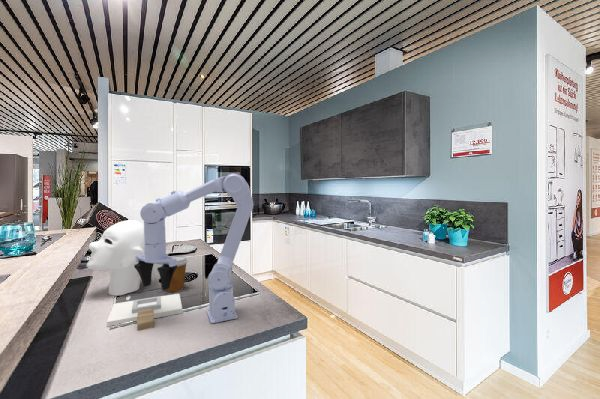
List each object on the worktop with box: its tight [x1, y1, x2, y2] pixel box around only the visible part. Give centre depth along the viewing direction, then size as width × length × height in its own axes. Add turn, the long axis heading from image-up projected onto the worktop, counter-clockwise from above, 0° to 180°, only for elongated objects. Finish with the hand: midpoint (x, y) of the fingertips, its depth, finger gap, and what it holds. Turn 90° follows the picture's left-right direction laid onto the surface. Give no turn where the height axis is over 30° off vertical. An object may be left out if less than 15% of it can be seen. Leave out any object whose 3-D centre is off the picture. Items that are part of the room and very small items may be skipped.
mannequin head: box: [86, 219, 145, 297], centre depth 110 cm, size 18×23×28 cm
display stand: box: [106, 293, 183, 328], centre depth 93 cm, size 14×20×3 cm
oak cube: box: [136, 309, 155, 331], centre depth 84 cm, size 4×4×4 cm
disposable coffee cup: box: [161, 255, 188, 293], centre depth 112 cm, size 10×10×12 cm
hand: (156, 287), depth 88 cm, fingers open, 7 cm apart
